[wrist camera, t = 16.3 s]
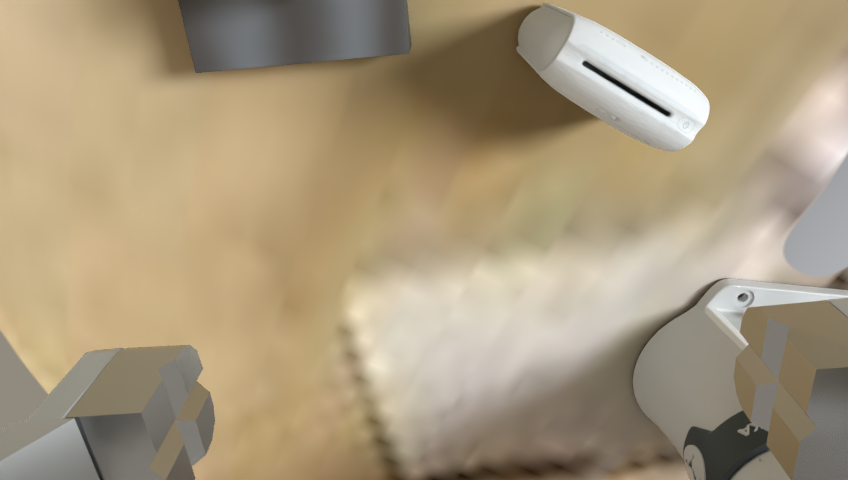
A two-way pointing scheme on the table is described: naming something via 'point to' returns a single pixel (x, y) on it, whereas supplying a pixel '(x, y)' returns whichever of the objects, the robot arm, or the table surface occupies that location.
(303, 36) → the riser block
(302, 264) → the table surface
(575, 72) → the photo printer
